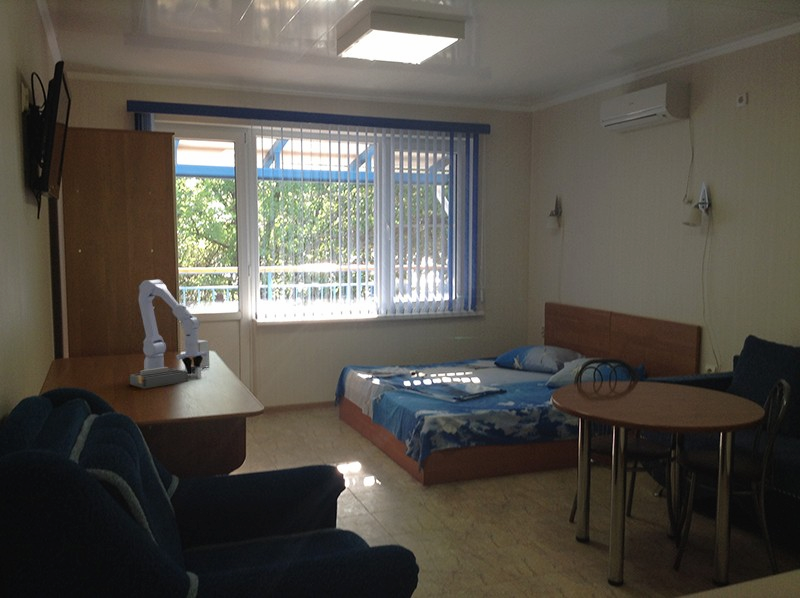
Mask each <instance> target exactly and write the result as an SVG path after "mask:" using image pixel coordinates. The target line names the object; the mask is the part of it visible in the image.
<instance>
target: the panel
mask: <svg viewBox="0 0 800 598" xmlns="http://www.w3.org/2000/svg"><path fill="white" fill-rule="evenodd" d="M184 371H186V372H187V369H186V367H185V366H184ZM190 376H191V377H192V378H194V377H195V378H194V379H202V369H201V367H198V366H193V365H191V374H188V377H190Z"/></svg>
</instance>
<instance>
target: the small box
mask: <svg viewBox="0 0 800 598" xmlns="http://www.w3.org/2000/svg"><path fill="white" fill-rule="evenodd" d="M209 342H210V341H209V340H204V339H202V340H201V339H198V349H199V352H203V351H207V352H208V356H201V357H203V360H202V362H201V364H200V367H201V368H202V369H204V368H203V367H206V366H210V343H209ZM189 357H191V356H189ZM190 359H191V360H192V363H191V365H193V366H194V361H193V358H190ZM206 368H207V367H206Z"/></svg>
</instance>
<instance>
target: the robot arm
mask: <svg viewBox="0 0 800 598" xmlns="http://www.w3.org/2000/svg"><path fill="white" fill-rule="evenodd" d="M138 289H139V294H138V304H139V309H140V313H141V318H142V323H143V328H144V332H145V338H144V340H143V341H142V343H143V348H142V351H143V354H144V355H145V358H144V360H143V367H144V368H143V370H148V369H155V368H162V367H165V361H164V354H165V352H166V350H167V345H166V342H164V339H163V338H164V337H162V335H160V334H159V329H158V326H157V320H156V319H157V318H156V316H155V315H156V314H155V311H154V306H153V300H154V299H155V298H156V297H160V298H162V299H163V301H164V302H165V303H166V304H167V305H168V306H169V307H170V308H171V309H172V314H173V315H174V316H175V317H176V319H178V321H179V322H180V323H181V328H182V329H183V332H184V348H185V353H181V354H176V355H175V357H176V358H175V360H178V361H179V360H181V361H182V363H183V365H184V368H185V367H186V369H187V372H188V374H191V363H192V360H191V359H190V358H193V361H194V366H198V367H200V364H201V362H202V360H203V357H201V356H208V352H207V351H203V352H199V349H198V340H199V327H200V325H201V323H200V319H199V318H198V317H197V316H194V315H193V314H192V313H191V312H190V311H189V310H188V309H187V306H186V305H184V304H181V303H178V300H176V299H175V297H174V296H173V294H171V292H170V291H169V290H168V288H167V285H166V284H165V283H164V281H163V280H161V279H149V280H148V279H145V280H143V281H142V282H141V283H140V285H139V286H138ZM189 356H191V357H189Z"/></svg>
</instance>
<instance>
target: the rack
mask: <svg viewBox="0 0 800 598" xmlns="http://www.w3.org/2000/svg"><path fill="white" fill-rule="evenodd" d="M186 382H189V376H188V372H186V371H185V370H180V369H177V368H169V366H164V367H162V368H155V369H148V370H144V369H143V370H140V373H134V374H133V373H132V374H129V385H132V386H135V387H138V388H140V389H149V388H156V387H161V386H167V385H174V384H180V383H186Z"/></svg>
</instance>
